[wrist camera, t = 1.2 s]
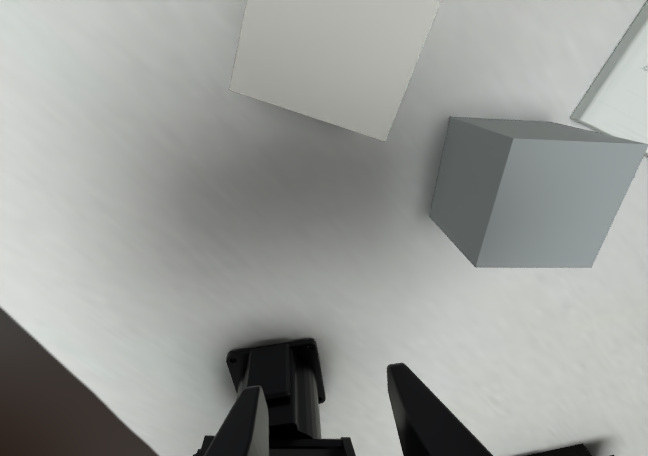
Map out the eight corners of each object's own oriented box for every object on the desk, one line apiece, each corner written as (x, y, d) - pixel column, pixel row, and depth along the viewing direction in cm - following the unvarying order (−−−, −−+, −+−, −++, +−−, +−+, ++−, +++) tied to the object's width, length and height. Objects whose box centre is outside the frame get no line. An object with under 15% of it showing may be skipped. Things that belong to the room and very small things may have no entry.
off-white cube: (357, 118, 18) (385, 142, 13) (247, 81, 17) (228, 91, 12) (402, -8, 16) (458, -42, 11) (278, -62, 15) (272, -132, 9)
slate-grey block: (517, 217, 22) (591, 267, 17) (428, 216, 21) (475, 267, 16) (549, 121, 19) (649, 144, 14) (449, 116, 19) (513, 138, 13)
